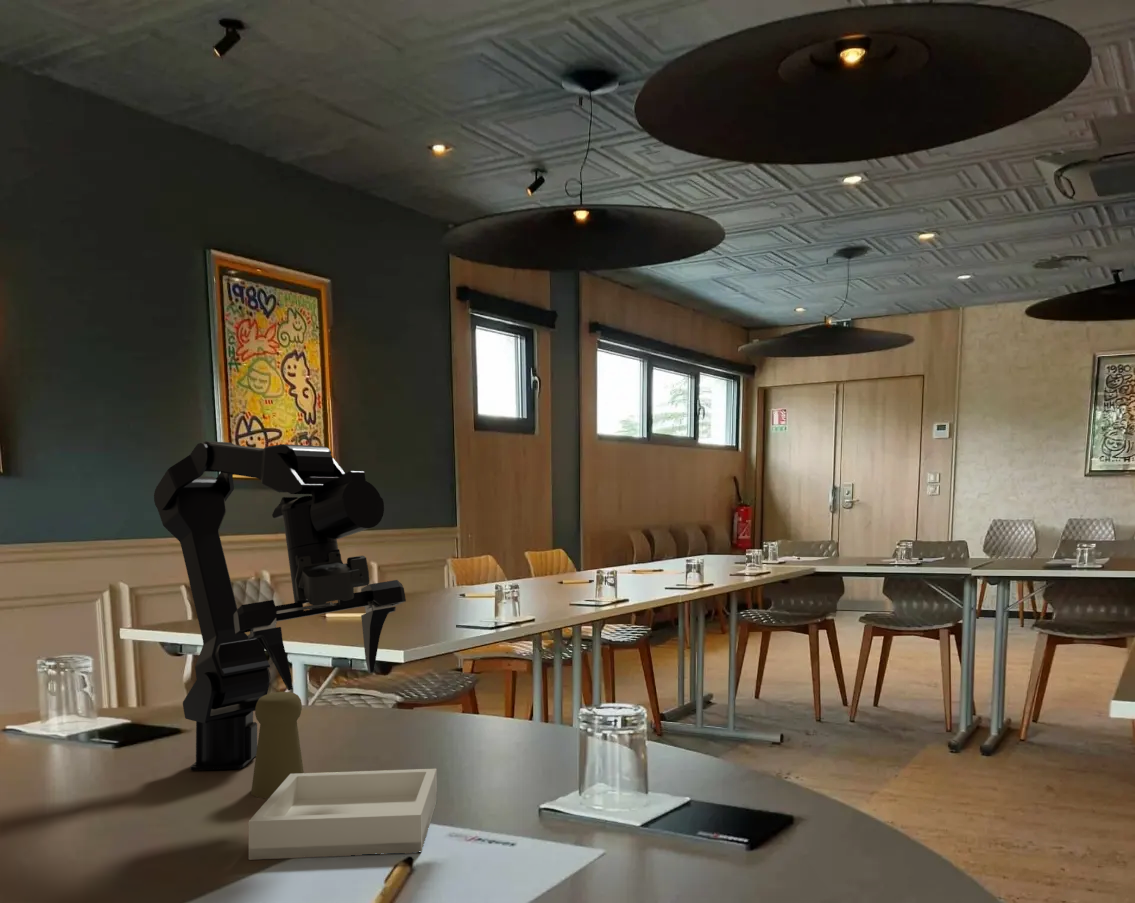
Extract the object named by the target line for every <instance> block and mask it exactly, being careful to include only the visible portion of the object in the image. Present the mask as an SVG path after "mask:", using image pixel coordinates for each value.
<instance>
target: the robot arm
mask: <svg viewBox="0 0 1135 903" xmlns="http://www.w3.org/2000/svg"><path fill="white" fill-rule="evenodd" d="M205 472H211V473H212V472H218V473H219V474H218V475H217V477H216V478H215V476H214V477H213V476H202V475H204V473H205ZM233 475H236V476H242V477H249V478H254V479H258V480H260V482H261V484H262V485H263V486H264V487H266V488H268V489H271V490H273V491H274V492H277V493H288V494H290V495H305V496H300V497H298V496H283V497H281V500H280V502H279V504H278V505H277V506H276V507H275V508H274V509H273V511H272V514H271V515H272V518H273V519H283V527H284V535H285V542H286V549H287V556H288V557H287V558H288V566H289V570H290V572H289V573H290V580H291V586H292V593H293V600H294V601H293V602H291V603H285V604H278V605H276V604H275V601H274V599H271V600H270V599H269V600H264V601H259V602H251V603H246V604H241V605H240V606H238V605H237V601H236V598H235V593H234V590H233V589H234V588H233V586H232V581H231V576H230V572H229V569H228V565H227V561H226V557H225V552H224V548H223V544H222V541H221V536H220V528H221V525H222V523H223V521H224V518H225V516H226V513H227V507H226V501H227V500H228V499H229V497H230V496H231V494H232V493H233V491H234V489H235V486H234V485H235V484H234V477H233ZM153 502H154V505H155V507H156V509H157V512H158V515H159V518H160V521H161V523H162V526H163V527H164V528H165V529H166V530H167V531H168V532H169V533H170V534H171V535H172V536H173V537H174V538H175V539H176V540H177V541H178V542H179V543H180V547H181V550H182V556H183V560H184V564H185V568H186V573H187V578H188V582H189V586H190V591H191V593H192V594H191V595H192V600H193V604H194V607H195V612H196V615H197V616H196V617H197V622H198V626H199V629H200V634H201V638H202V647H201V649H200V653H199V655H198V657H197V661H196V663H195V666H194V667H195V668H194V669H195V678H196V680H195V681H194V683H193V685H192V686H191V688H190V690H189V691H188V693H187V695H186V696H185V698H184V699H183V701H182V706H183V714H184V715H183V716H184V718H185V720H189V721H193V722H195V762H194V763H192V764H191V765H190V771H208V770H209V771H210V770H211V771H212V770H213V771H214V770H234V769H235V770H237V769H242V768H244V767H245V766H246V765H248V764H249V763H250V762H251V761H252V760H253V759H254V758H256V753H257V745H258V723H257V722H256V721H254V712H255V708H256V704H257V702H258V700H259V698H261V697H262V696H264V695H267V694H269V688H270V683H271V678H272V677H271V672H270V669H269V668H271V665H270V663H269V661H268V658H267V656H266V654H268V656H269V657H270V658H271V659H270V660H271V661H272V663H273V665H274V666H275V669H276V670H277V672H278V674H279V676H280V678H281V680H282V682H283V684H284V686H285V687H286V690H287V691H292V690H293V687H294V686H293V680H292V674H291V669H290V664H289V661H288V657H287V653H286V649H285V645H284V641H283V631H282V627H281V626H277V622H281V621H287V620H293V619H299V618H304V617H312V616H316V615H322V614H327V613H333V612H335V613H336V612H339V611H345V610H352V609H357V608H361V607H362V608H364V610H365V613H364V614H361V615H360V617H361V626H362V627H361V628H362V635H363V646H364V647H363V648H364V658H365V663H366V667H367V668H366V669H367V672H368V674H373V673H374V672H375V667H376V661H377V655H378V650H379V649H378V648H379V643H380V639H381V634H382V630H383V627H384V624H385V621H386V620H387V617H388V615H389V614H392V613H394V612H396V608H397V606H398V605H401V604H403V603H406V602H407V599H406V592H405V587H404V585H403V583H401V582H400V581H399V580H398V579H394V580H389V581H388V580H387V581H383V582H375V583H370V572H369V566H368V565H369V564H368V560H367V557H366V556H365V555H357V556H350V557H347V559H346V563H343V560H342V555H341V552H340V549H339V544H338V540H339V539H343V538H345V537H348V536H351V535H354V534H358V533H361V532H363V531H365V530H369V529H371V528H374V527H376V526H378V525H379V523H380V522H381V521H382V519H383V516H384V514H385V513H384V512H385V504H384V499H383V498H382V497H381V494H380V493H379V491H378V489H377V488H376V487H375V486H374V485H373V484H372V483H370V482H369V481H367V478H366V473H365V471H363V470H361V471H360V470H349V471H347V472H345V471H344V470H343V468H342V467H341V466H340V465H339V463H338V462H337V461H336V460H335V458H334V457H333V456H332V451H331V449H329V448H328V447H326V446H323V445H306V444H305V445H303V444H287V443H283V444H280V443H279V444H274V445H267V446H266V447H264V448H262V447H261V448H260V447H254V446H248V445H247V446H245V445H240V444H234V443H232V442H225V441H209V440H207V441H203V442H199V443H197V444H196V445H195V447H194V448H193V450H192V451H191V452H190V454H189V455H187V456H186V457H184V458H183V459H181V460H179V461H178V462H176V463H175V464H173V465H171V466H170V467H169V468H167V470H166V472H165V473H164V475H163V476H162V478H161V479H160V481H159V482H158V484H157V486H156V487H155V489H154V493H153ZM359 587H362V588H361V590H360V591H357V592H354V590H355V588H359ZM335 601H337V602H335ZM333 602H334V603H333ZM308 603H309V605H305V606H304V604H308ZM247 633H249V634H247Z"/></svg>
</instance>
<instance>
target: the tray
mask: <svg viewBox="0 0 1135 903" xmlns="http://www.w3.org/2000/svg"><path fill="white" fill-rule="evenodd" d="M437 771H438V770H437V768H417V769H416V768H415V769H414V768H413V769H412V768H411V769H387V770H361V771H360V770H358V771H355V770H354V771H337V772H336V771H334V772H333V771H332V772H331V771H329V772H327V771H326V772H304V773H297V774H290V775H289V776H288V777H287V778H286V779H285V780H284V782H283V783H282V784H281V785H280V786H279V787H278V788H277V790H276V791H275V792H274V793H273V794H272V795H271V796H270V798H267V799H266V801H265V802H264V803H263V804H262V805H261V806H260V808H259V809H257V811H256V812H255V813H254V814H253V815H252V816H251V818H250V819H249V821H248V861H249V860H254V861H255V860H276V859H278V860H279V859H299V858H301V859H303V858H324V857H325V858H326V857H327V858H328V857H329V858H330V857H348V856H349V857H352V856H351V855H355V856H363V855H362V854H375V853H377V854H380V855H382V854H381V853H384V854H383V855H387V854H386V853H405V854H413V853H412V852H419V851H423V849H422V847H423V848H424V845H423V844H425V842H424V841H426V839H425V838H427V836H428V832H429V829H430V825H431V821H432V818H433V815H434V811H435V808H436V806H437V805H436V804H437V801H438V794H437V793H438V791H437V790H438V788H437V787H438V785H437V784H438V782H437V781H438V780H437V779H438V777H437V776H438V775H437ZM428 828H429V829H428Z"/></svg>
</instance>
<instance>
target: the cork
mask: <svg viewBox="0 0 1135 903" xmlns="http://www.w3.org/2000/svg"><path fill="white" fill-rule="evenodd" d="M302 708H303V704H302V700H301V698H300V696H299V695H298V694H296V693H294V692H292V691H291V692H289V691H274V692H270V693H267V695H264V696H262V697H261V698H259V700H258V702H257V704H256V708H255V711H254V712H255V714H254V715H255V718H256V721H257V722H258V724H259V729H258V730H259V731H258V732H259V733H258V737H257V753H256V756H255V761H254V766H253V768H254V769H253V777H252V782H251V791H250V795H252V796H253V797H255V798H260V799H269V798H270V796H271V795H272V794H273V793H274V792H275V791H276V790H277V788H278V787H279V786H280V785H281V784H282V783H283V782H284V780H285V779H286V778H287V777H288V776H289V775H290V774H297V773H305V772H304V764H303V757H302V749H301V743H300V742H301V741H300V735H299V726H298V719H300V717H301V714H302V710H303V709H302Z"/></svg>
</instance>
